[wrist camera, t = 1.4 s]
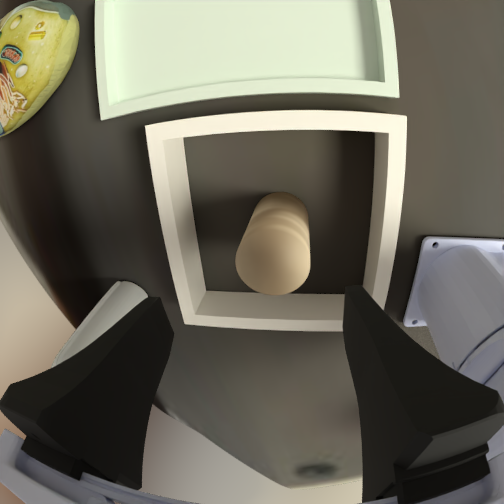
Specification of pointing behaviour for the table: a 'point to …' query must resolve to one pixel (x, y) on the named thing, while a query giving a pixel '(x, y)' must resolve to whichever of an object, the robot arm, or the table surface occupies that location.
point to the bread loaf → (275, 246)
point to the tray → (240, 50)
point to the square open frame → (258, 304)
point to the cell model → (33, 58)
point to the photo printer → (102, 317)
